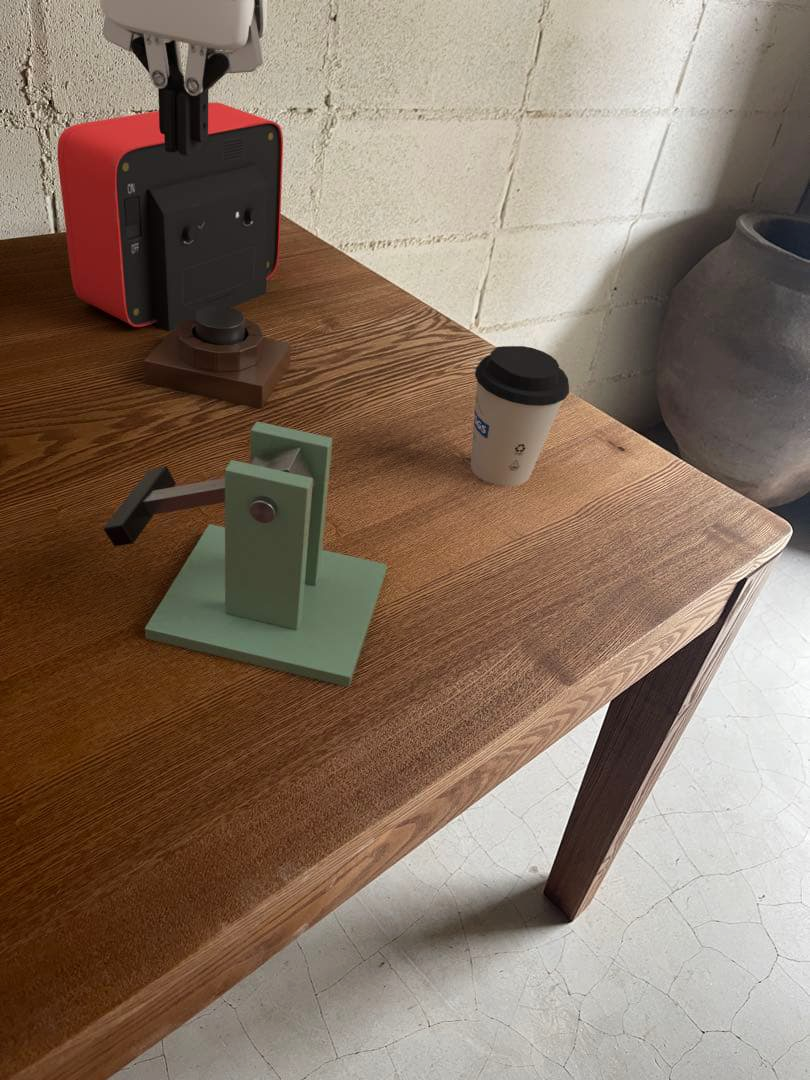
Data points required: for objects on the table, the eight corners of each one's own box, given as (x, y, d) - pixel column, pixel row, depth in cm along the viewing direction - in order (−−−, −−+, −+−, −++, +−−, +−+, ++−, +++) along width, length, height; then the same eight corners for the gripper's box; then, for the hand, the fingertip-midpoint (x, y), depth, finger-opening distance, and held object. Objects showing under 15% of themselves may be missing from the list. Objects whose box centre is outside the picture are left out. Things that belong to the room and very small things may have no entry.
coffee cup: (549, 465, 70) (581, 354, 63) (533, 512, 64) (566, 396, 58) (466, 441, 71) (490, 330, 64) (444, 486, 65) (468, 369, 59)
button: (187, 341, 70) (187, 321, 69) (206, 321, 73) (205, 302, 72) (235, 351, 70) (235, 331, 69) (251, 331, 73) (251, 311, 72)
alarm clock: (293, 286, 89) (302, 124, 79) (143, 346, 76) (131, 159, 66) (226, 256, 93) (225, 97, 83) (71, 308, 79) (49, 125, 69)
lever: (118, 554, 48) (97, 520, 47) (162, 494, 53) (144, 461, 51) (294, 527, 44) (277, 489, 43) (325, 464, 49) (309, 428, 48)
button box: (145, 384, 71) (142, 340, 69) (182, 342, 77) (181, 300, 75) (261, 409, 70) (263, 366, 68) (290, 365, 77) (292, 324, 74)
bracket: (145, 646, 49) (131, 480, 42) (209, 540, 57) (206, 384, 50) (348, 695, 49) (370, 534, 41) (384, 581, 56) (409, 429, 49)
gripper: (321, -155, 53) (299, 157, 64) (88, -202, 53) (108, 115, 65) (285, -158, 47) (268, 186, 58) (24, -210, 48) (59, 140, 59)
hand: (184, 148), depth 62 cm, fingers closed
